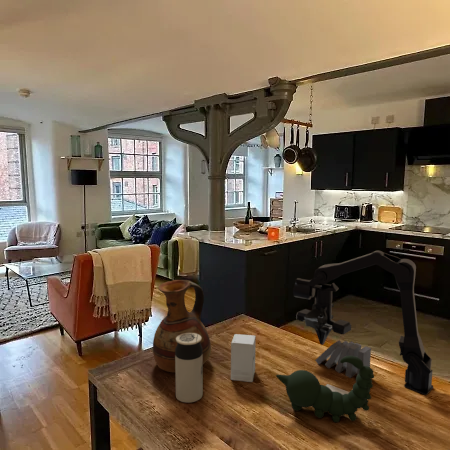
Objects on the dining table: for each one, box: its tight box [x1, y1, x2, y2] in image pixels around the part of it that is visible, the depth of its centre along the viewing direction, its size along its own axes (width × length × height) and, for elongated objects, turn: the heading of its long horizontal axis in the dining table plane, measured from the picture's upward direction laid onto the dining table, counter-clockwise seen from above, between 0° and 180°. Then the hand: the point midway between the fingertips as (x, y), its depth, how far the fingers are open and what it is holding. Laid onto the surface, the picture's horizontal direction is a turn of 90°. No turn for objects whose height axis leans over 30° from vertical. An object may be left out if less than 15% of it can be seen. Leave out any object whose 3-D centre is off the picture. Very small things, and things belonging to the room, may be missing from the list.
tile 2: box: [324, 340, 349, 370], centre depth 123 cm, size 2×5×10 cm, turn 133°
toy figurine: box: [275, 356, 375, 423], centre depth 98 cm, size 9×19×25 cm
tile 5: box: [356, 346, 372, 376], centre depth 116 cm, size 2×5×10 cm, turn 133°
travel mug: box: [174, 333, 204, 404], centre depth 106 cm, size 8×8×18 cm
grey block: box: [345, 342, 362, 379], centre depth 118 cm, size 2×5×10 cm, turn 133°
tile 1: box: [315, 340, 342, 365], centre depth 125 cm, size 2×5×10 cm
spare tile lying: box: [325, 383, 350, 395], centre depth 106 cm, size 10×5×2 cm, turn 50°
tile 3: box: [334, 341, 355, 374], centre depth 121 cm, size 2×5×10 cm, turn 133°
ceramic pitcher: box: [152, 279, 212, 373], centre depth 124 cm, size 20×20×30 cm
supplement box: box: [230, 333, 257, 383], centre depth 118 cm, size 7×7×13 cm
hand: (321, 344), depth 127 cm, fingers closed
